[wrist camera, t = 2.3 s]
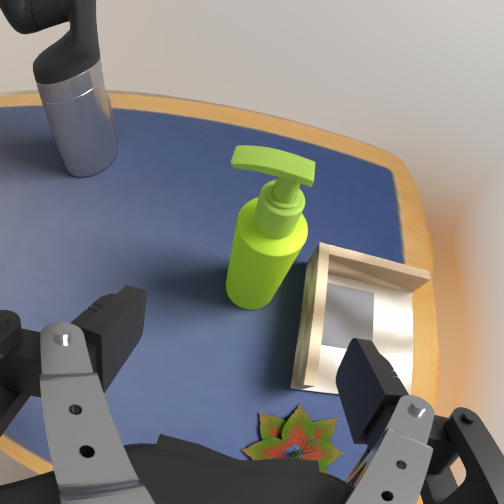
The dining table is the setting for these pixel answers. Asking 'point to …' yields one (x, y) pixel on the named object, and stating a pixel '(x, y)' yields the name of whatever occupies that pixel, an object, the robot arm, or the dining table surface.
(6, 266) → the dining table surface
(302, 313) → the corner arena
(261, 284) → the soap dispenser
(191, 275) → the dining table surface
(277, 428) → the lily flower
